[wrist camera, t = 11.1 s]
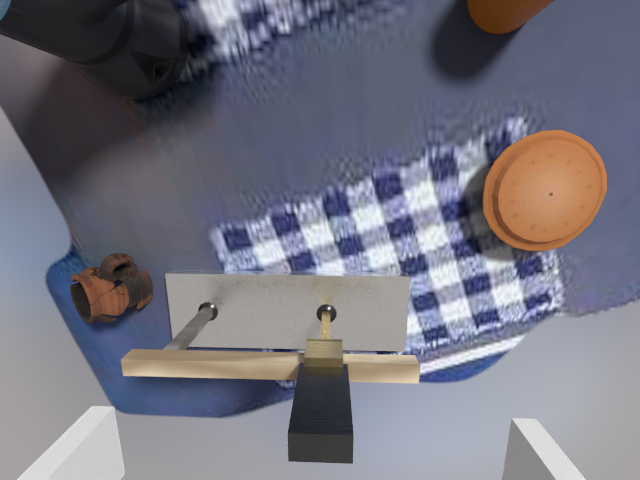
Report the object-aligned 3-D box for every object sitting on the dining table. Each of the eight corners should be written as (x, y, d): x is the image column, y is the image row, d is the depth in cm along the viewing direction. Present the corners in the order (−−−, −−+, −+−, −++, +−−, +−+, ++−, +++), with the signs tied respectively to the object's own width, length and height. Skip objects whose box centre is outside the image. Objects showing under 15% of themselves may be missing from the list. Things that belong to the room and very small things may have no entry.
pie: (451, 221, 45) (465, 227, 40) (505, 115, 42) (528, 108, 37) (546, 261, 46) (571, 272, 41) (606, 160, 43) (642, 159, 38)
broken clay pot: (152, 318, 51) (95, 342, 44) (121, 283, 55) (64, 301, 48) (162, 261, 46) (99, 279, 39) (128, 226, 49) (64, 237, 42)
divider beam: (181, 305, 48) (120, 359, 34) (394, 308, 46) (420, 366, 33) (182, 317, 48) (123, 375, 34) (393, 321, 47) (418, 383, 33)
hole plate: (171, 269, 48) (164, 273, 46) (406, 272, 47) (410, 276, 45) (179, 339, 51) (173, 346, 49) (402, 344, 50) (405, 351, 48)
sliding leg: (309, 300, 46) (287, 422, 24) (343, 300, 46) (353, 424, 24) (309, 329, 47) (288, 471, 25) (343, 329, 47) (352, 473, 25)
